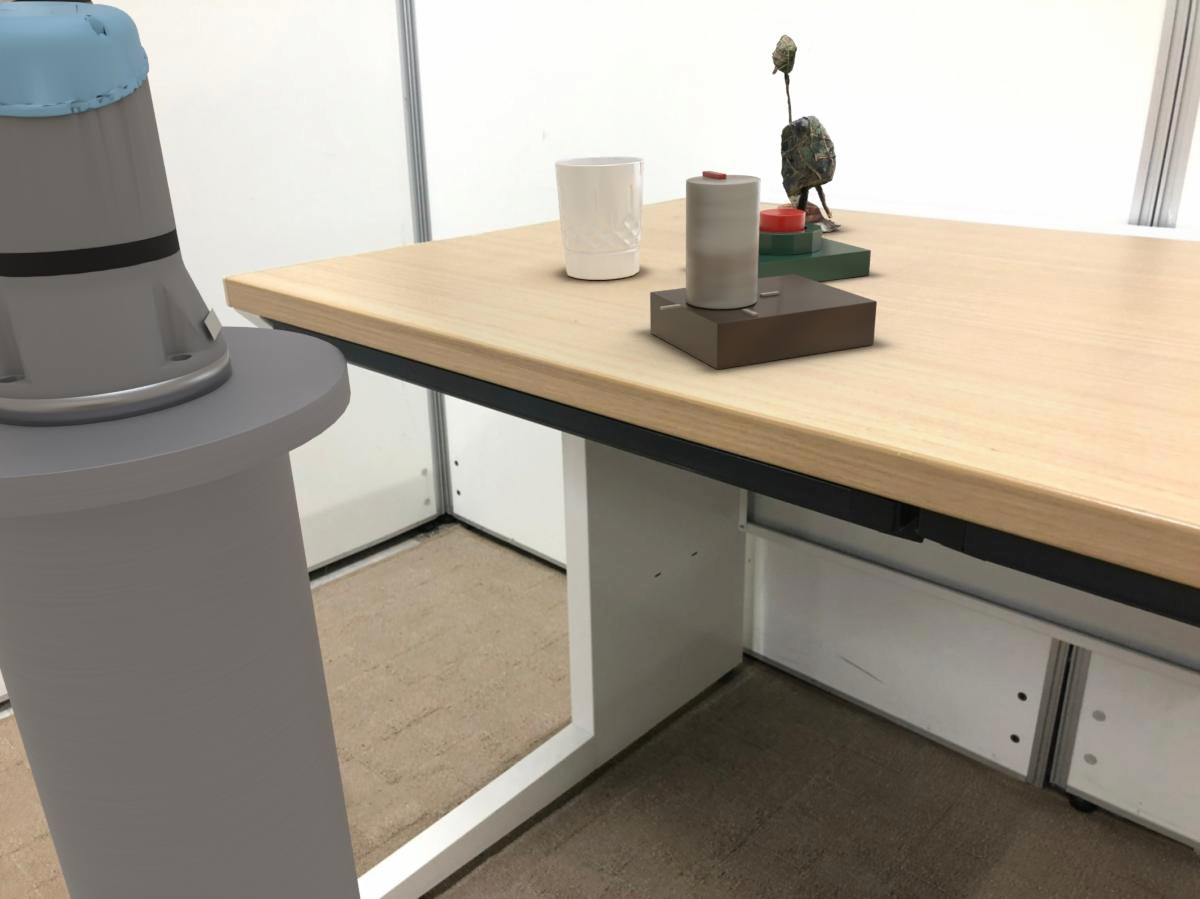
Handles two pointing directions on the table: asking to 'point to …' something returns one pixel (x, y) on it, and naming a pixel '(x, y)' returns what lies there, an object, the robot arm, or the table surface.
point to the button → (782, 220)
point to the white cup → (600, 215)
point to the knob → (722, 240)
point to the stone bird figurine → (804, 151)
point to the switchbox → (809, 256)
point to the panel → (766, 323)
